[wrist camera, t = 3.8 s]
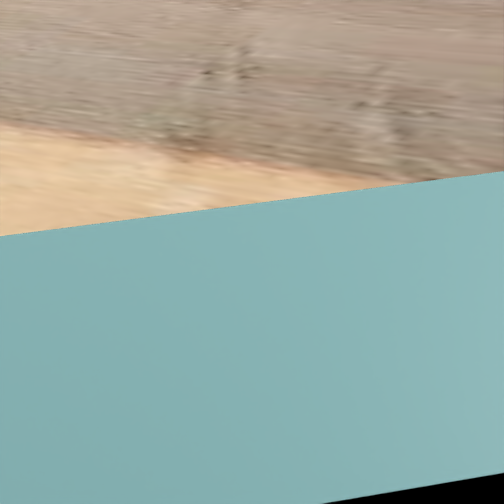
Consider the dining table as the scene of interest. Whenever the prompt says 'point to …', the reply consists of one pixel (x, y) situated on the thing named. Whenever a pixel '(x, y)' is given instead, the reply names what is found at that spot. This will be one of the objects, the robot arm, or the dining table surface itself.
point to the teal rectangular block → (261, 353)
